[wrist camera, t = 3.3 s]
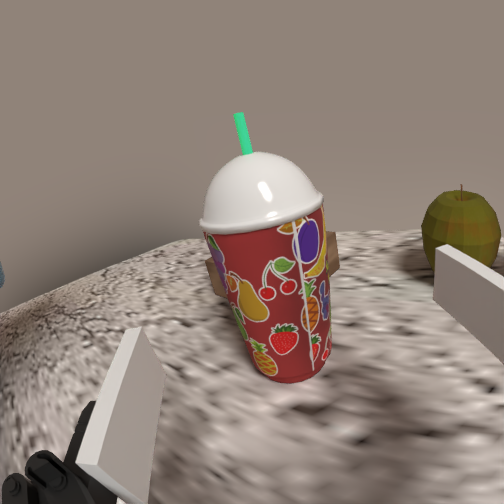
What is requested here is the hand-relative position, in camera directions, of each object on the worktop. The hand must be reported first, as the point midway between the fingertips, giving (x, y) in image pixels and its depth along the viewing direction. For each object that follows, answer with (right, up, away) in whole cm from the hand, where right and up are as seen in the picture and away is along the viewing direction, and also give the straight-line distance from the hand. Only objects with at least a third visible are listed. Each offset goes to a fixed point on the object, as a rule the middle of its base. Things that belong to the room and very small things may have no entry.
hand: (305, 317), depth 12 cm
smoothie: (+2, -7, +13) cm, 15 cm away
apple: (+22, 0, +17) cm, 28 cm away
